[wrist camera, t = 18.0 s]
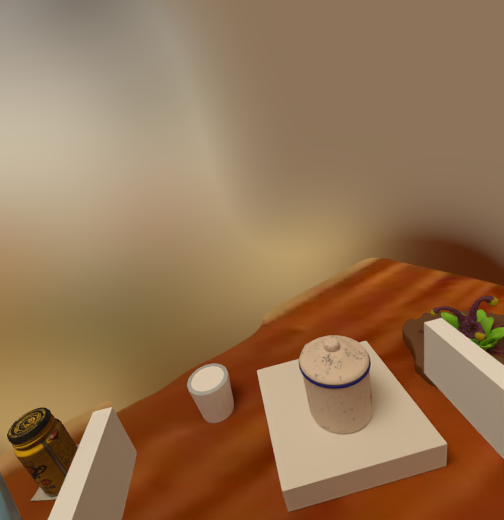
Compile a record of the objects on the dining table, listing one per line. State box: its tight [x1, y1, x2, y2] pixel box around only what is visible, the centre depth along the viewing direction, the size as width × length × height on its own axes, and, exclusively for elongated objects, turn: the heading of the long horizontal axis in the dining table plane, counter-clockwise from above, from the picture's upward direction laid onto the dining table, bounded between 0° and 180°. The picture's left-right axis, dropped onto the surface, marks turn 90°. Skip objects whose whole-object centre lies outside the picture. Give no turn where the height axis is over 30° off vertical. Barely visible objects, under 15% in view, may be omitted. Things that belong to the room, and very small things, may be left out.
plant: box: [403, 296, 504, 389], centre depth 50 cm, size 20×20×11 cm
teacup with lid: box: [299, 335, 373, 433], centre depth 43 cm, size 12×9×12 cm
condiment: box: [7, 408, 79, 501], centre depth 46 cm, size 7×8×12 cm
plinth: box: [257, 341, 447, 512], centre depth 46 cm, size 20×20×4 cm
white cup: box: [187, 363, 234, 423], centre depth 52 cm, size 7×7×7 cm
